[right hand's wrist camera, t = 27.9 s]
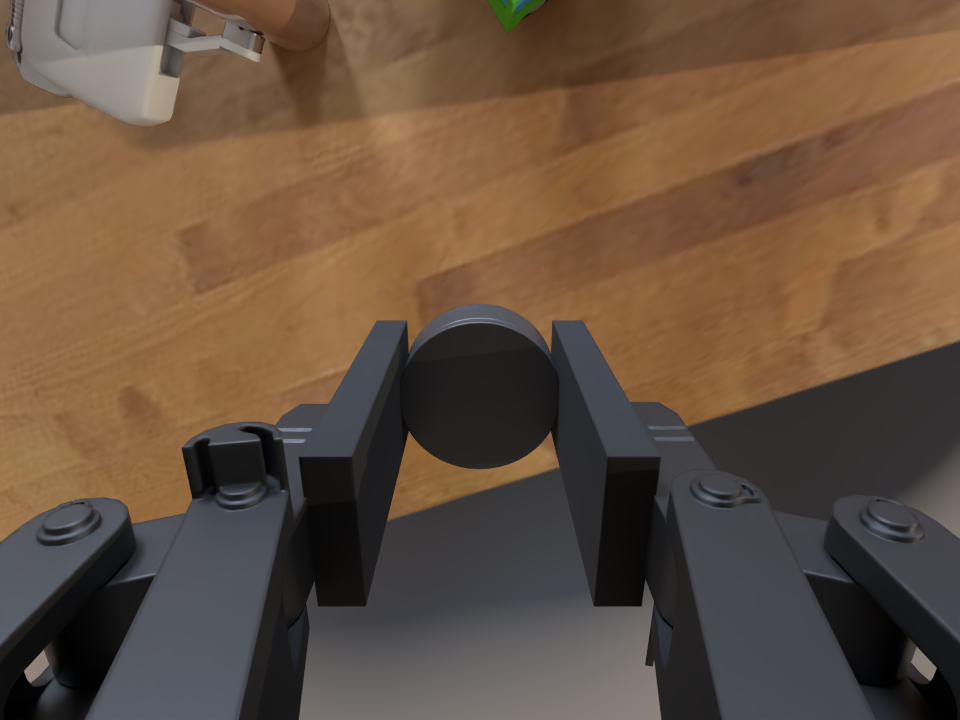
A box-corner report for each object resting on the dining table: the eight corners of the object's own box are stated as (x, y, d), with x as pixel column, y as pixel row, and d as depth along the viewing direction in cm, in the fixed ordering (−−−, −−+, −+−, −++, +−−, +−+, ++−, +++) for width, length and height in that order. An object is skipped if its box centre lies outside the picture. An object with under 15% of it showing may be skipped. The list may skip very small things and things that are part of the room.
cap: (572, 409, 15) (582, 438, 13) (442, 456, 15) (438, 489, 14) (522, 280, 13) (527, 296, 12) (382, 336, 14) (370, 358, 13)
